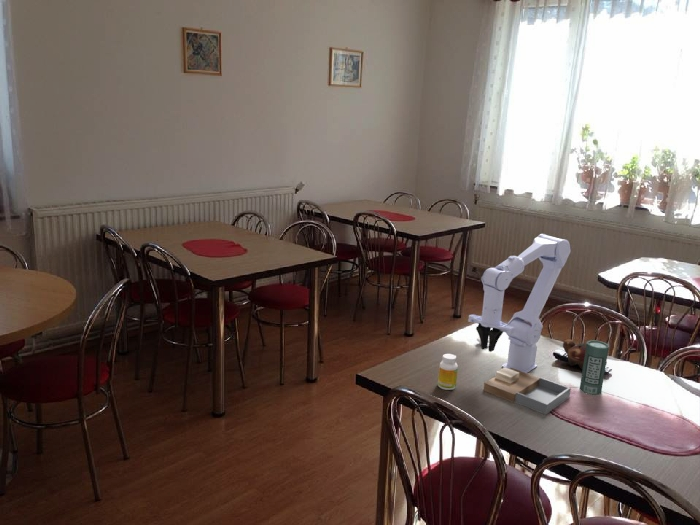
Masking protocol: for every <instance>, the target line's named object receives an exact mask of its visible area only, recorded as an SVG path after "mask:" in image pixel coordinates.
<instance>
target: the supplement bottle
mask: <svg viewBox="0 0 700 525" xmlns="http://www.w3.org/2000/svg"><path fill="white" fill-rule="evenodd" d="M441 359H442V360H441V361H440V363H439V366H438V367H439V369H438V379H437V386H438V387H439V388H440V389H442V390H445V391H448V390H450V391H451V390H455V389H456V387H457V380H458V379H457V378H458V370H459V365H458V363H457V355H455V354H452V353H445V354H443V355H442V358H441Z"/></svg>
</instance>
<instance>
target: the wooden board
mask: <svg viewBox="0 0 700 525" xmlns="http://www.w3.org/2000/svg"><path fill="white" fill-rule="evenodd" d="M510 369H511V370H514V371H517V372H519V379H517V380H515V381H514V382H512V383H508V382H505V381H502V380H500V379H497V378H496V376H494V377H491V378H490V379H489V380H487V381H484V384H483V391H484V392H486V393H488V394H492V395H493V396H497V397H499V398H502V399H504V400H506V401H509V402H511V403H516V402H515V395H516V392H518V393H521V394H523V395H525V394H526V393H528V392H529V391H531V390H532V389H534V388H535V387H537V386H538V385H539V378H540V377H539V376H535V375H533V374H530V373H529V372H527V373H525V372H522V371H519V370H516V369H514V368H510Z"/></svg>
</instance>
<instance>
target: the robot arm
mask: <svg viewBox="0 0 700 525" xmlns="http://www.w3.org/2000/svg"><path fill="white" fill-rule="evenodd" d="M571 253H572V251H571V245H570V241H569V240H568V239H563V238H558V237H555V236H551V235H548V234H545V233H540V234H538V236H536V237H535V238H534V239H533V241H532V244H531V245H530V246H529V247H527V248H526V249H525V250H524V251H522V252H521V253H520V254H519V255H518V256H517V255H510V256H508V257H507V259H506V260H504V261H502V262H501V263H500V264H498V265H496V266H495V267H489V268H487V269H485V271H484V272H483V274H482V276H481V278H480V279H481V283H482V285H483V288H482V290H483V291H484V293H483V302H482V311H481V315H476V314H469V315H468V319H467V320H468V323H474V324H478V325H477V326H476V328H475V330H476V332H477V335H478V337H480V341H481V345H480V347H481V349H482V350H485V349H487V348H488V352H490V353H491V352H493V351H494V350H495V347H496V345H497V344H498V341H499V339H500V337H501V336H502V334H503V333H506V335H507V336H508V340H509V346H508V353H507V362H505V363H504V364H502V365H501V367H502V368H504V367H505V368H508V369H510V368H514V369H516V370H519V371H522V372H525V373H529V372H530V371H532V370H534V369H535V368H537V367H538V365H537V364H536V358H537V348H538V346H537V343H538V342H539V340H540V339H541V332H542V329H543V323H542V322H541V320H540V316H541V313H542V312H543V309H544V306H545V305H546V302H547V301H548V299H549V297H550V294H551V292H552V290H553V287H554V285H555V284H556V282H557V279H558V277H559V275H560V273H561V272H562V268H564V267H565V264H566V263H567V260H568V258H569V256H570V254H571ZM537 259H539V261H540V262H541V263H542V266H543V267H542V269H541V271H540V273H539V274H538V275H539V276H538V277H537V279H536V281H535V283H534V285H533V287H532V290H531V292H530V294H529V297H528V298H527V301H526V302H525V305H524V306H523V309H522V310H520V311H517V312H515V313H513V315H512V317H511V319H510V320H509V321H508V322H507V323H505V322H503V321H502V314H503V307H504V306H503V304H504V299H505V298H504V296H505V290H506V289H508V288H509V286H510V284H511V282H513V279H515V278H516V277H518V276H519V275H520V274H522V273H523V272H524V270H525V266H527V265H528V264H530V263H532V262H534V261H535V260H537ZM488 338H489V343H488Z"/></svg>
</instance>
